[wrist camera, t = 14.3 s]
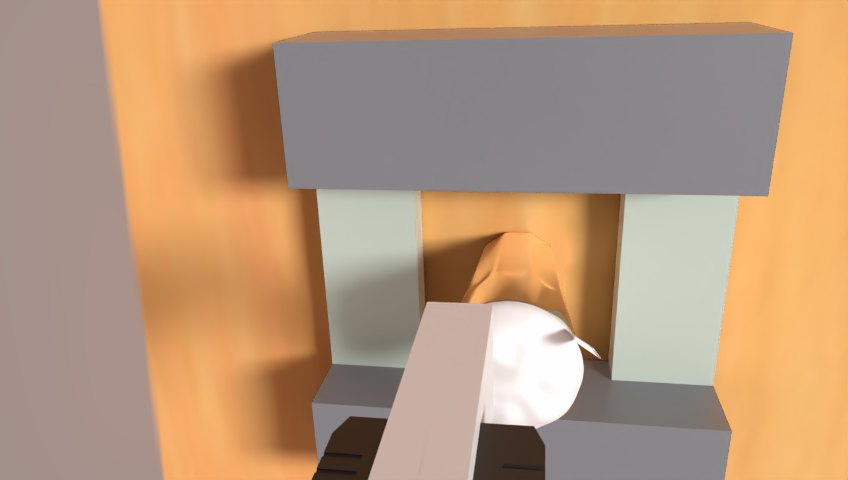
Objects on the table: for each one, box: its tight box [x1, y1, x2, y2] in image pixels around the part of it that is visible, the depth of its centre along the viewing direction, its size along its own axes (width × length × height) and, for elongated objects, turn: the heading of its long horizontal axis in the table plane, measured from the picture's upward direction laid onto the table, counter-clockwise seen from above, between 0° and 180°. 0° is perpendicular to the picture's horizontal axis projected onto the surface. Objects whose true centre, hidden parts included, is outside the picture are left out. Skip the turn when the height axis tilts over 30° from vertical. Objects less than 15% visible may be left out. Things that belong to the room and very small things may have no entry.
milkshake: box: [461, 232, 601, 429], centre depth 24 cm, size 4×5×10 cm
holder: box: [273, 22, 793, 480], centre depth 27 cm, size 19×16×4 cm
